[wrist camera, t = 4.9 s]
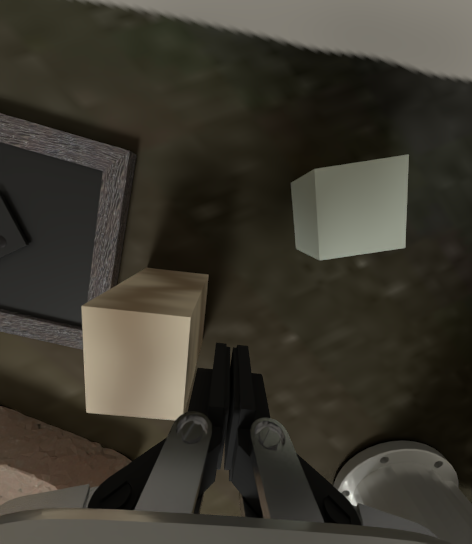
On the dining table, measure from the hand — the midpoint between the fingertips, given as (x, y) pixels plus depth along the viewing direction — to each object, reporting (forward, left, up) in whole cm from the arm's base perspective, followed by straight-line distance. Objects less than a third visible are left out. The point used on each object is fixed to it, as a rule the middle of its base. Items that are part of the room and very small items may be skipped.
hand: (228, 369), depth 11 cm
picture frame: (+20, -5, -9) cm, 22 cm away
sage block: (-6, -9, -8) cm, 13 cm away
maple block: (+5, 0, -8) cm, 9 cm away
